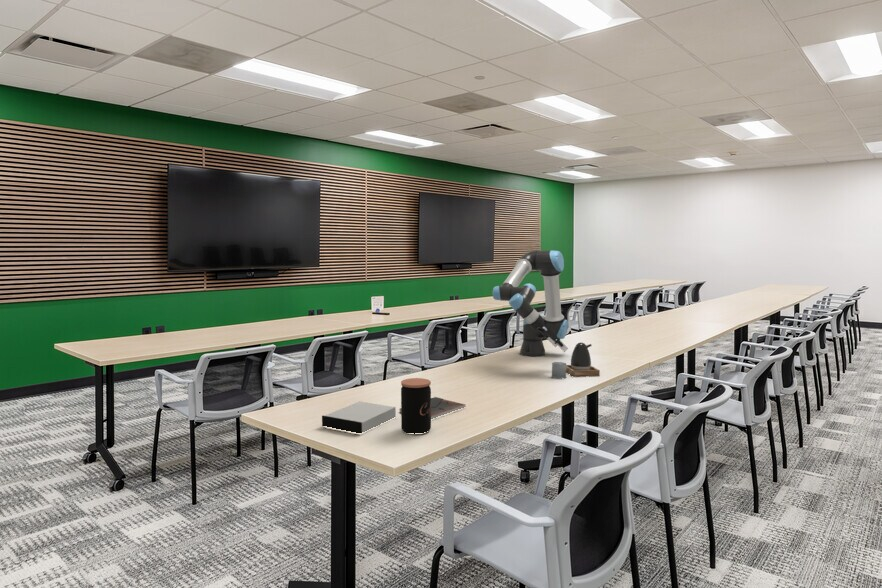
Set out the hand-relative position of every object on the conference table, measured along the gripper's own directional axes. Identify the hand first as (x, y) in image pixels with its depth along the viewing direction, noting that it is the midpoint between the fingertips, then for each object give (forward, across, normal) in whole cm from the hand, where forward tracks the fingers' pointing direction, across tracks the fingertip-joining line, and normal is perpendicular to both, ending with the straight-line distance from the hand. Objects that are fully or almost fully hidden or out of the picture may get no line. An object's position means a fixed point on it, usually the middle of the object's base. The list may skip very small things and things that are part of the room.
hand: (561, 347), depth 285 cm
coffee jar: (-48, +77, -68) cm, 113 cm away
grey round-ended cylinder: (+7, +6, -12) cm, 15 cm away
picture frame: (-41, +54, -62) cm, 91 cm away
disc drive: (-61, +65, -82) cm, 122 cm away
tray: (+17, 0, -2) cm, 17 cm away
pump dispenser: (+16, 0, -2) cm, 17 cm away
